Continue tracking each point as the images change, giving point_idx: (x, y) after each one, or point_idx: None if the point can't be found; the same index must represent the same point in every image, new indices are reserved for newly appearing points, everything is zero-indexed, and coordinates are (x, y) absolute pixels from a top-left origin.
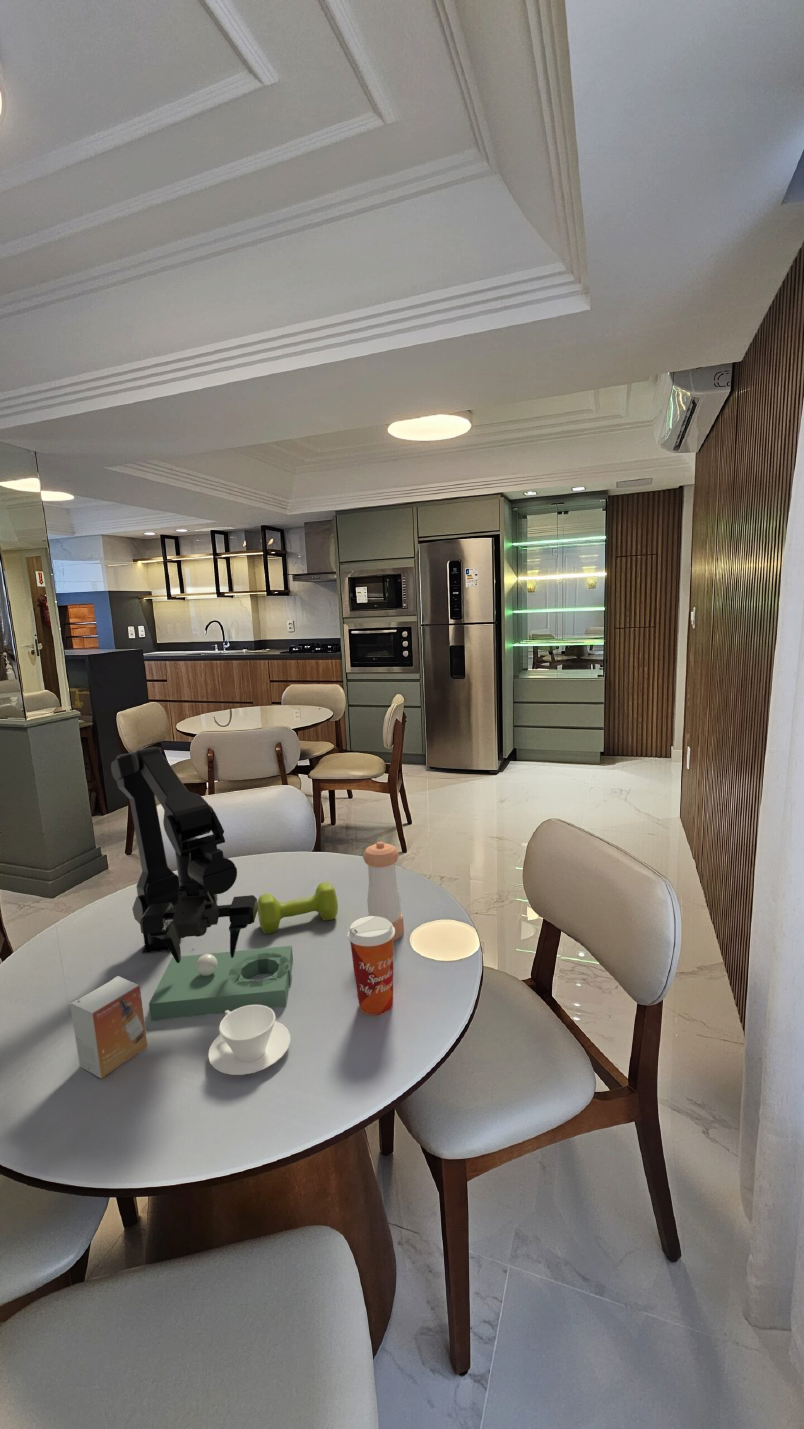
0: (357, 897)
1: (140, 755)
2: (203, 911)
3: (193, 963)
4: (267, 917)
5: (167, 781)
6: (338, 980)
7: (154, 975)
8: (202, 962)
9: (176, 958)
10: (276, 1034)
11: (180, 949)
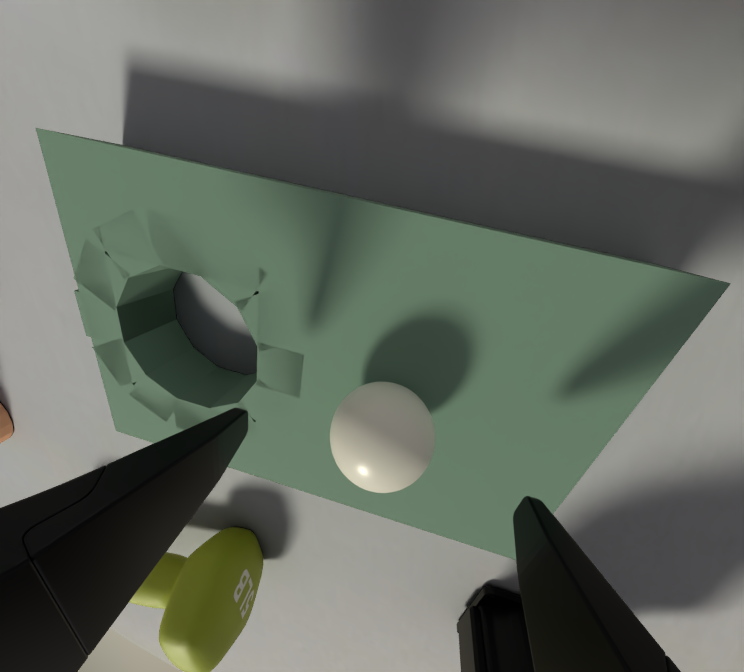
0: None
1: None
2: None
3: (442, 493)
4: (201, 580)
5: None
6: (4, 241)
7: (567, 517)
8: (395, 436)
9: (553, 529)
10: None
11: (520, 589)
